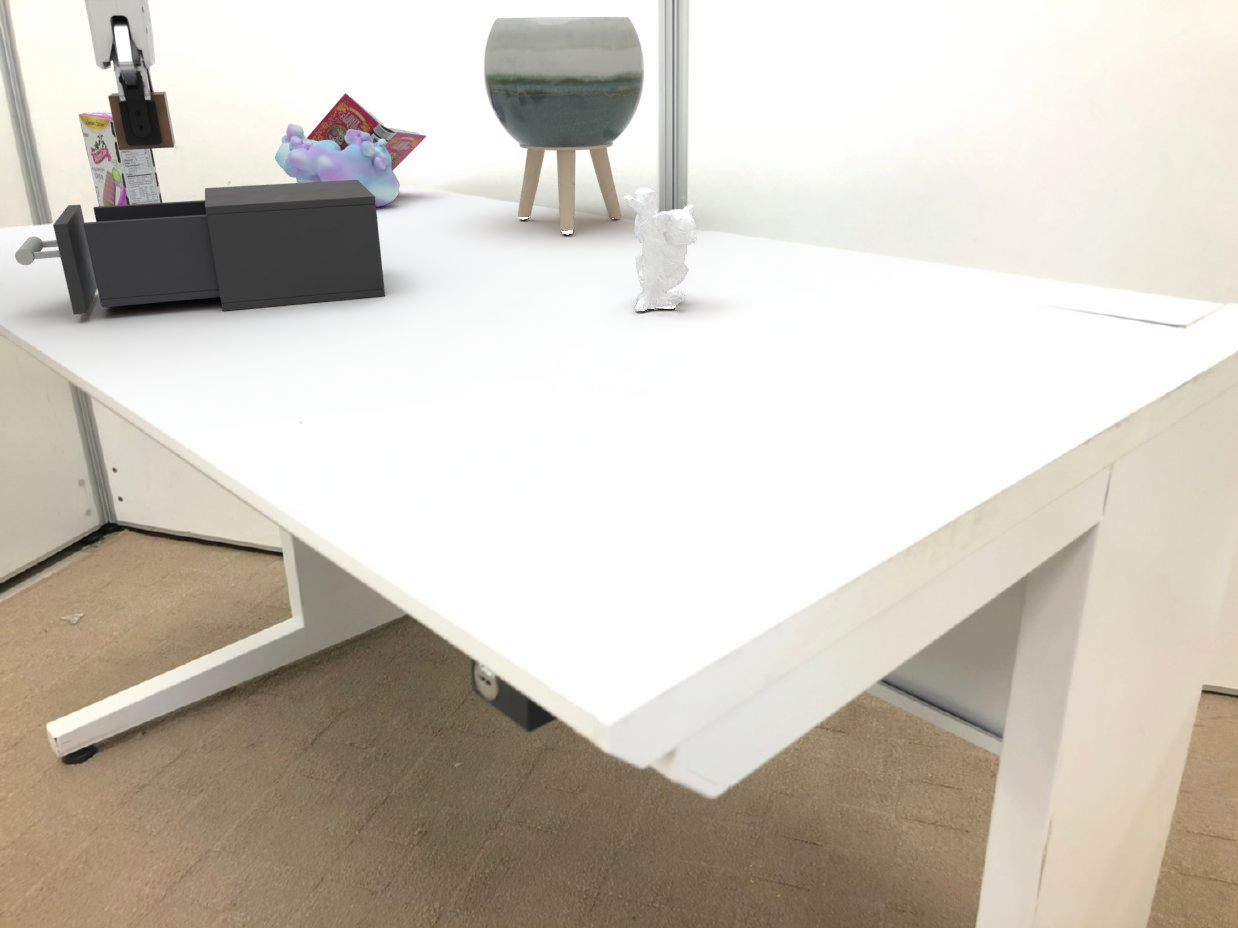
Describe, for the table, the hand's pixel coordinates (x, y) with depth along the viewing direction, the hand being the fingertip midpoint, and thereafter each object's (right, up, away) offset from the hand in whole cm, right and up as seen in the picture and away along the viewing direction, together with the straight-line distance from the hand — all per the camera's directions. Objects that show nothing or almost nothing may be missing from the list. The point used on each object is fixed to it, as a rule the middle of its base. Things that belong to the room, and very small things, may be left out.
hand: (146, 140), depth 101 cm
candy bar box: (-20, -1, +40) cm, 45 cm away
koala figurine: (+52, -16, +3) cm, 54 cm away
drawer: (-3, -15, +5) cm, 16 cm away
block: (0, -1, 0) cm, 1 cm away
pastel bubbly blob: (+3, +11, +66) cm, 67 cm away
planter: (+40, +2, +46) cm, 61 cm away
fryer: (+12, -13, +11) cm, 21 cm away
